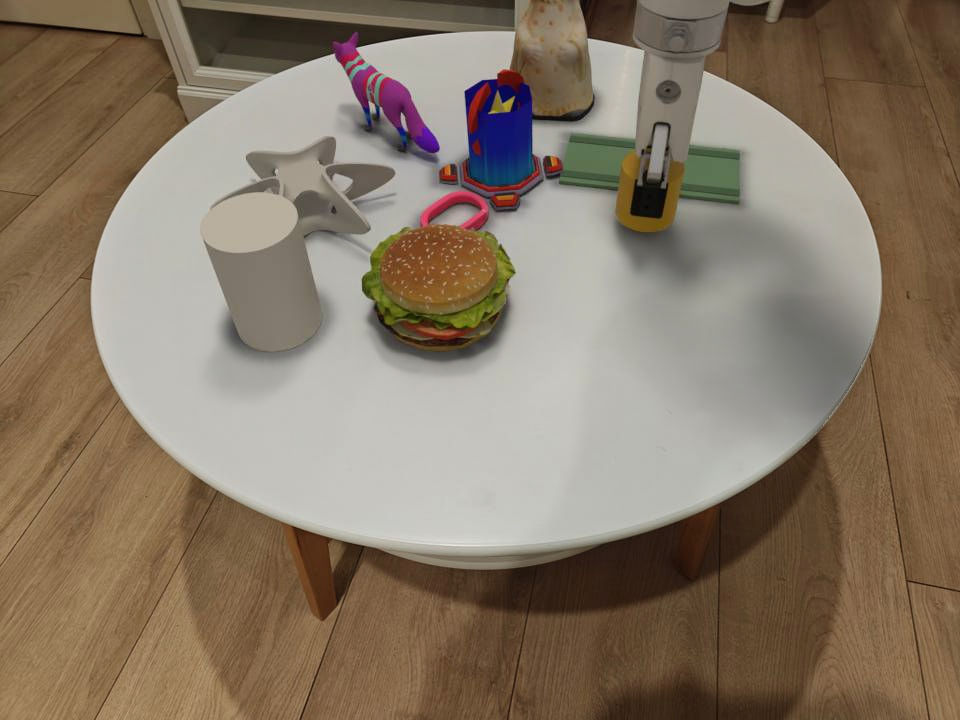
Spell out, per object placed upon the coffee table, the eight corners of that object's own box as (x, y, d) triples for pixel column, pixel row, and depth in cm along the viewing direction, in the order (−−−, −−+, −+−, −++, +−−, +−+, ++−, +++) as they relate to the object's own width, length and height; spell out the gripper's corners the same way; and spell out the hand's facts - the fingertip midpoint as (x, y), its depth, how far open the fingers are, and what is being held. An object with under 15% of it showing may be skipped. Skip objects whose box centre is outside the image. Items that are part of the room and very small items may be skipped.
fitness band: (448, 251, 80) (447, 240, 79) (409, 228, 83) (408, 217, 81) (499, 214, 84) (499, 203, 83) (460, 193, 86) (460, 182, 85)
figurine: (501, 118, 97) (501, -50, 82) (507, 76, 103) (508, -86, 88) (594, 122, 96) (612, -47, 81) (594, 79, 102) (610, -84, 87)
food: (533, 276, 77) (535, 212, 71) (483, 376, 69) (482, 313, 63) (409, 246, 81) (401, 183, 75) (347, 338, 72) (333, 275, 66)
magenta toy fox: (355, 102, 100) (343, 24, 92) (451, 156, 91) (446, 75, 84) (333, 114, 98) (318, 35, 90) (428, 170, 90) (421, 88, 82)
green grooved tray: (738, 153, 91) (739, 149, 90) (738, 203, 84) (739, 200, 84) (571, 135, 94) (571, 131, 93) (558, 183, 87) (559, 179, 87)
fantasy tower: (507, 215, 83) (503, 115, 74) (429, 177, 89) (417, 80, 80) (572, 165, 89) (576, 67, 80) (495, 132, 94) (491, 37, 85)
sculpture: (309, 297, 76) (296, 248, 71) (190, 217, 85) (172, 168, 80) (430, 212, 84) (426, 163, 80) (311, 147, 93) (301, 100, 88)
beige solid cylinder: (290, 279, 78) (262, 180, 68) (339, 319, 74) (316, 220, 65) (221, 320, 74) (182, 222, 65) (268, 365, 70) (234, 266, 61)
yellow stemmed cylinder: (676, 199, 82) (689, 137, 76) (672, 235, 78) (686, 173, 72) (618, 192, 83) (626, 131, 77) (612, 228, 79) (620, 166, 73)
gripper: (722, 76, 59) (681, 253, 73) (725, -18, 70) (689, 151, 84) (625, 67, 60) (602, 243, 74) (643, -24, 71) (620, 144, 85)
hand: (648, 193), depth 79 cm, fingers closed on yellow stemmed cylinder, 6 cm apart
